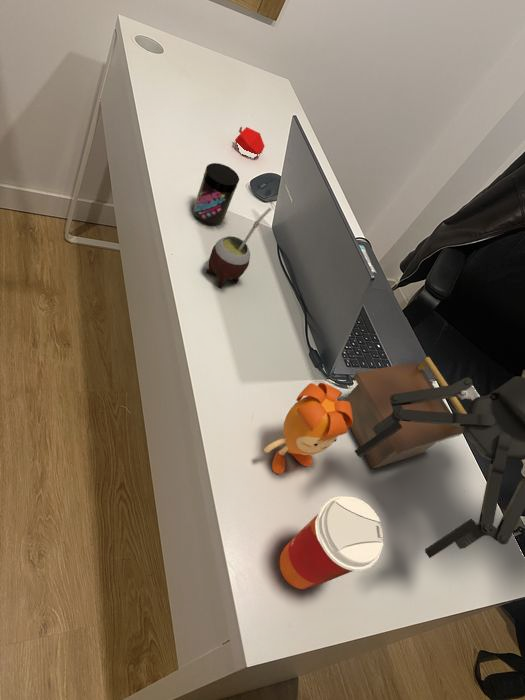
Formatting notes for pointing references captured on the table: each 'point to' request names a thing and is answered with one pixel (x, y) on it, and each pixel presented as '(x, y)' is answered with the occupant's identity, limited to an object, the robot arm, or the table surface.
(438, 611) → the table surface
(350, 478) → the table surface
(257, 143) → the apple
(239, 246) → the mate gourd
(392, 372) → the box with handle
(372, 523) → the coffee cup
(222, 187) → the supplement container
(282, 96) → the table surface
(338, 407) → the toy figure
